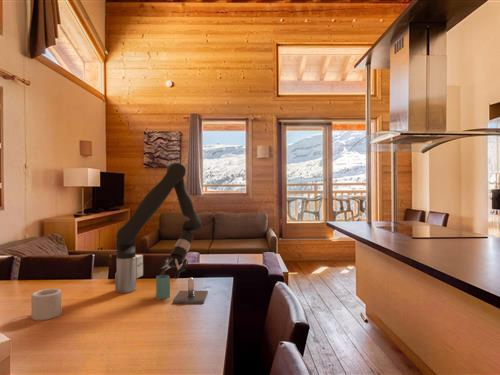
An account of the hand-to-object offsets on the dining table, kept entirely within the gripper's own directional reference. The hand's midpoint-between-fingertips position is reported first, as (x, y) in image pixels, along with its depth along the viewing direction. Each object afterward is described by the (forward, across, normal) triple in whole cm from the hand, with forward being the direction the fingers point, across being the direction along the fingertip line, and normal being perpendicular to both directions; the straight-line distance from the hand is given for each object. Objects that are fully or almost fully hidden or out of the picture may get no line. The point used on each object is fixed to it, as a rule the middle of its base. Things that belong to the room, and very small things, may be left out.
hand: (167, 277), depth 165 cm
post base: (+7, +14, +6) cm, 16 cm away
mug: (+35, -33, -23) cm, 53 cm away
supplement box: (-8, -39, +21) cm, 45 cm away
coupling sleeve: (+9, 0, +3) cm, 10 cm away
